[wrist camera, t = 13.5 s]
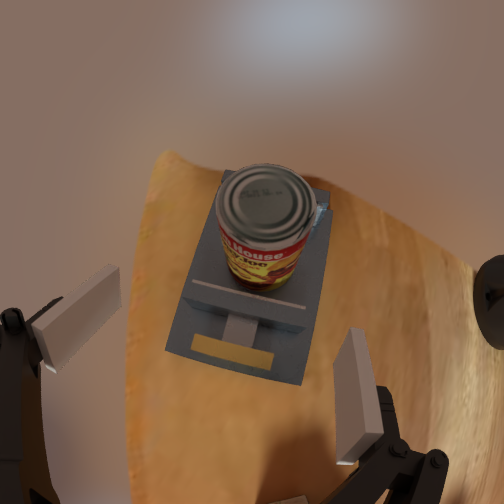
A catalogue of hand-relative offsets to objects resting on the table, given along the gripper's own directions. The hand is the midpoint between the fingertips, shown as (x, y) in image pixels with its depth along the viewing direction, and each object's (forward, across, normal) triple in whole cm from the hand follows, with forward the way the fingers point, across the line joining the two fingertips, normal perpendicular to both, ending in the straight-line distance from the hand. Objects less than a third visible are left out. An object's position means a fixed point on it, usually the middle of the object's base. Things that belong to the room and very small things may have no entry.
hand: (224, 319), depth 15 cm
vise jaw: (+12, 0, -10) cm, 15 cm away
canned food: (+18, 0, -4) cm, 19 cm away
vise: (+18, 0, -7) cm, 19 cm away
